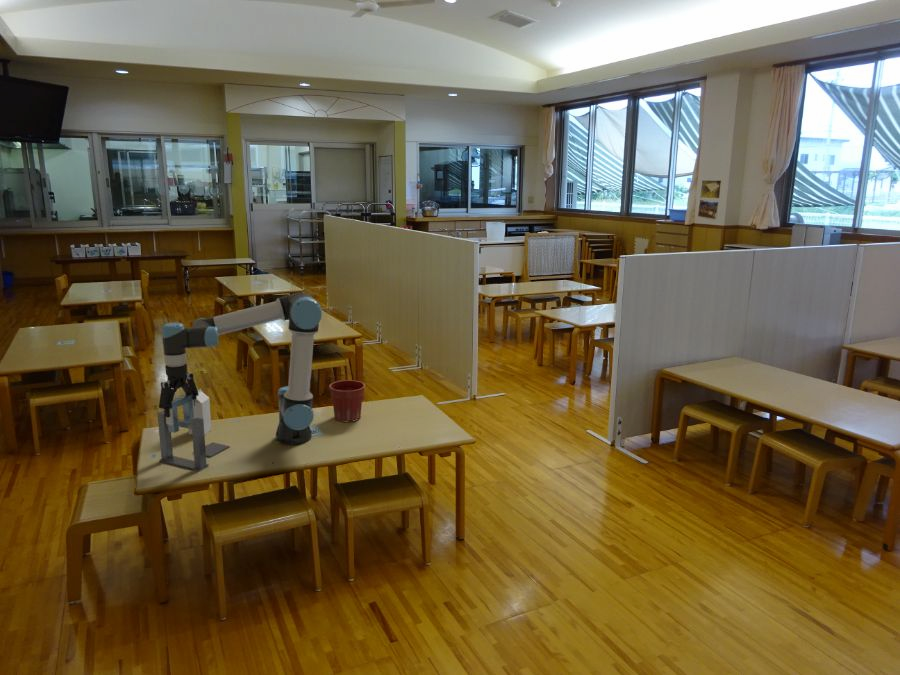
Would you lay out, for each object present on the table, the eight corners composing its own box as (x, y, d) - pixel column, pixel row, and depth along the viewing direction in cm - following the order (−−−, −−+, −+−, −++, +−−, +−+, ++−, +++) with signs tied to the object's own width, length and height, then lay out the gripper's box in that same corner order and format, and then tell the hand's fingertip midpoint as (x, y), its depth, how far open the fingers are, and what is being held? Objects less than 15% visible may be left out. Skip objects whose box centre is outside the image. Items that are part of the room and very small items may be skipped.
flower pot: (339, 409, 313) (338, 378, 309) (370, 413, 309) (370, 382, 305) (324, 421, 298) (323, 388, 294) (356, 426, 294) (356, 392, 290)
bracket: (188, 422, 253) (186, 393, 250) (194, 423, 251) (191, 394, 248) (168, 431, 244) (165, 401, 241) (174, 432, 242) (171, 402, 240)
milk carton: (211, 429, 285) (208, 389, 280) (204, 436, 278) (201, 394, 273) (196, 428, 286) (193, 388, 281) (188, 435, 279) (185, 393, 274)
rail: (208, 466, 250) (205, 417, 245) (199, 471, 245) (195, 422, 240) (169, 456, 257) (165, 409, 252) (159, 461, 253) (155, 413, 248)
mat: (229, 447, 267) (229, 446, 267) (210, 457, 257) (210, 456, 257) (212, 443, 270) (212, 442, 270) (193, 453, 261) (193, 452, 260)
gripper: (190, 355, 253) (195, 408, 258) (144, 370, 233) (150, 428, 238) (205, 357, 250) (210, 411, 255) (159, 373, 230) (165, 431, 235)
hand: (181, 419), depth 247 cm, fingers closed on bracket, 10 cm apart
